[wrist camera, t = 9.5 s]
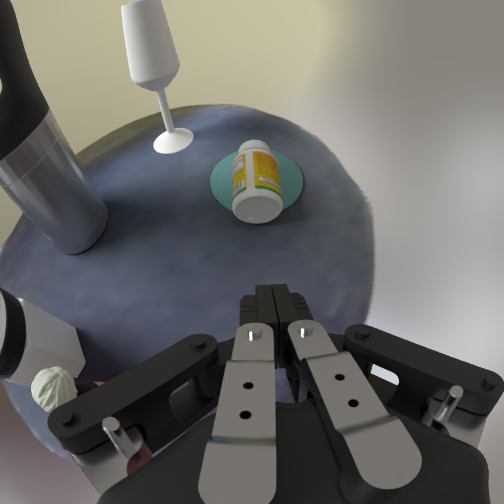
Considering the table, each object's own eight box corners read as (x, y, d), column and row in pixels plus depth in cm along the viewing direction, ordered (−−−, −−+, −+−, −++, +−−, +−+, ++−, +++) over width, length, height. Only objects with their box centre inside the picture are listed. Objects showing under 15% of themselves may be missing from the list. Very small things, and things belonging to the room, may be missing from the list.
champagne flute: (152, 158, 38) (107, 12, 17) (154, 133, 41) (119, 5, 20) (195, 148, 38) (166, -5, 17) (192, 124, 42) (169, -8, 20)
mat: (193, 200, 33) (193, 197, 33) (234, 142, 39) (234, 140, 38) (285, 229, 31) (286, 227, 31) (312, 163, 36) (313, 161, 36)
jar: (32, 381, 22) (-41, 360, 11) (39, 320, 26) (-27, 281, 15) (84, 398, 22) (3, 387, 11) (90, 328, 26) (18, 286, 15)
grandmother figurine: (93, 408, 21) (6, 401, 10) (95, 374, 23) (9, 350, 12) (159, 422, 21) (84, 437, 10) (160, 385, 23) (86, 374, 12)
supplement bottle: (224, 201, 27) (226, 141, 31) (241, 229, 31) (239, 170, 36) (277, 189, 26) (269, 130, 30) (288, 219, 30) (278, 161, 35)
